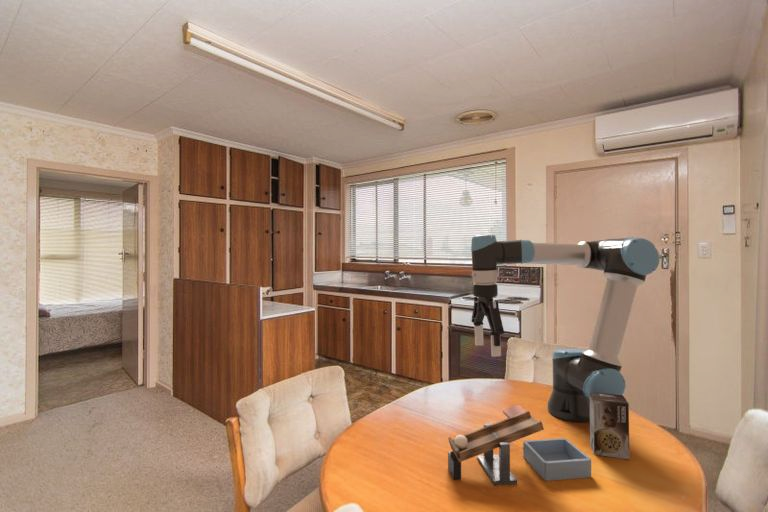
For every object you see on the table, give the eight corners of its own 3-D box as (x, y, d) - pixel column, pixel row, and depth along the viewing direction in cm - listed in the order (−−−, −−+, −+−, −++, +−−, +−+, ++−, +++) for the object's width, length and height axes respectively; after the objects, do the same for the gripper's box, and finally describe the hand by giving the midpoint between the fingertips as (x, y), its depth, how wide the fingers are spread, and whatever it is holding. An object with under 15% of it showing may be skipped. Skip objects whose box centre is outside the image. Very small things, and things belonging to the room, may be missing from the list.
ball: (466, 443, 101) (463, 430, 101) (470, 450, 97) (468, 437, 97) (453, 446, 100) (451, 433, 100) (457, 453, 97) (455, 440, 97)
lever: (518, 407, 112) (515, 398, 111) (545, 431, 97) (542, 420, 97) (444, 436, 109) (441, 426, 109) (460, 464, 94) (456, 453, 94)
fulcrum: (497, 457, 106) (497, 422, 106) (517, 483, 94) (517, 444, 94) (444, 461, 104) (444, 426, 104) (457, 488, 93) (457, 448, 92)
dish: (565, 453, 108) (565, 437, 108) (592, 477, 97) (592, 459, 97) (522, 456, 107) (522, 440, 107) (544, 480, 95) (544, 463, 95)
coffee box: (623, 449, 111) (623, 394, 111) (630, 460, 105) (630, 403, 104) (589, 444, 114) (588, 391, 114) (593, 454, 108) (593, 399, 107)
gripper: (460, 281, 130) (463, 341, 130) (489, 287, 105) (491, 362, 106) (481, 280, 131) (483, 340, 131) (514, 286, 106) (517, 360, 107)
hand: (487, 350), depth 119 cm, fingers open, 13 cm apart
